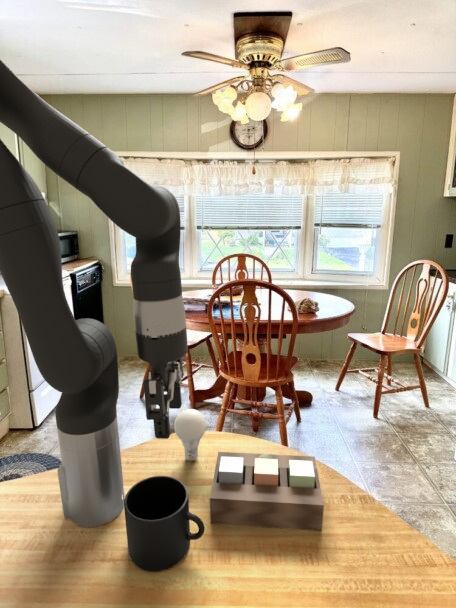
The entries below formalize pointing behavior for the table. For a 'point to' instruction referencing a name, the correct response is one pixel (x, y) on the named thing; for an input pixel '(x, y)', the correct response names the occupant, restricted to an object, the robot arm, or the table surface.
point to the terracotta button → (266, 472)
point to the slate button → (231, 470)
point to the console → (266, 498)
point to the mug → (159, 523)
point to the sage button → (301, 474)
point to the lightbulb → (190, 431)
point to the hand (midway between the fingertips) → (169, 421)
